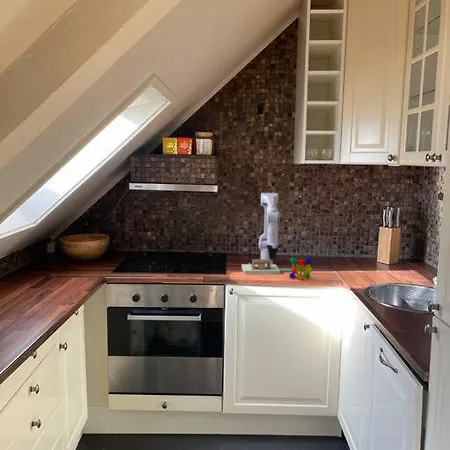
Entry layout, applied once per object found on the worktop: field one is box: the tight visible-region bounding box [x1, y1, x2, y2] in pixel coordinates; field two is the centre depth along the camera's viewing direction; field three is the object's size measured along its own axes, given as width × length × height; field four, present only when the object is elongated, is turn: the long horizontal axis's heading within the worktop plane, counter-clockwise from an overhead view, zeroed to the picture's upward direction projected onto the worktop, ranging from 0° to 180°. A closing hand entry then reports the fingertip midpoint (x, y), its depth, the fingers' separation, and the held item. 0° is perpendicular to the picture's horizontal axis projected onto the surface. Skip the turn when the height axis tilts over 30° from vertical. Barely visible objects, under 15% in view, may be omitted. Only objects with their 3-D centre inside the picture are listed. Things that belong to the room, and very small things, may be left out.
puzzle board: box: [241, 262, 281, 275], centre depth 273 cm, size 16×20×3 cm
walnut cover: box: [251, 258, 271, 270], centre depth 270 cm, size 7×9×4 cm
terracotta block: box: [256, 263, 265, 270], centre depth 271 cm, size 4×4×5 cm
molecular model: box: [289, 256, 313, 281], centre depth 256 cm, size 11×7×12 cm, turn 92°
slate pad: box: [278, 267, 292, 273], centre depth 275 cm, size 7×7×1 cm
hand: (271, 258), depth 260 cm, fingers open, 3 cm apart
